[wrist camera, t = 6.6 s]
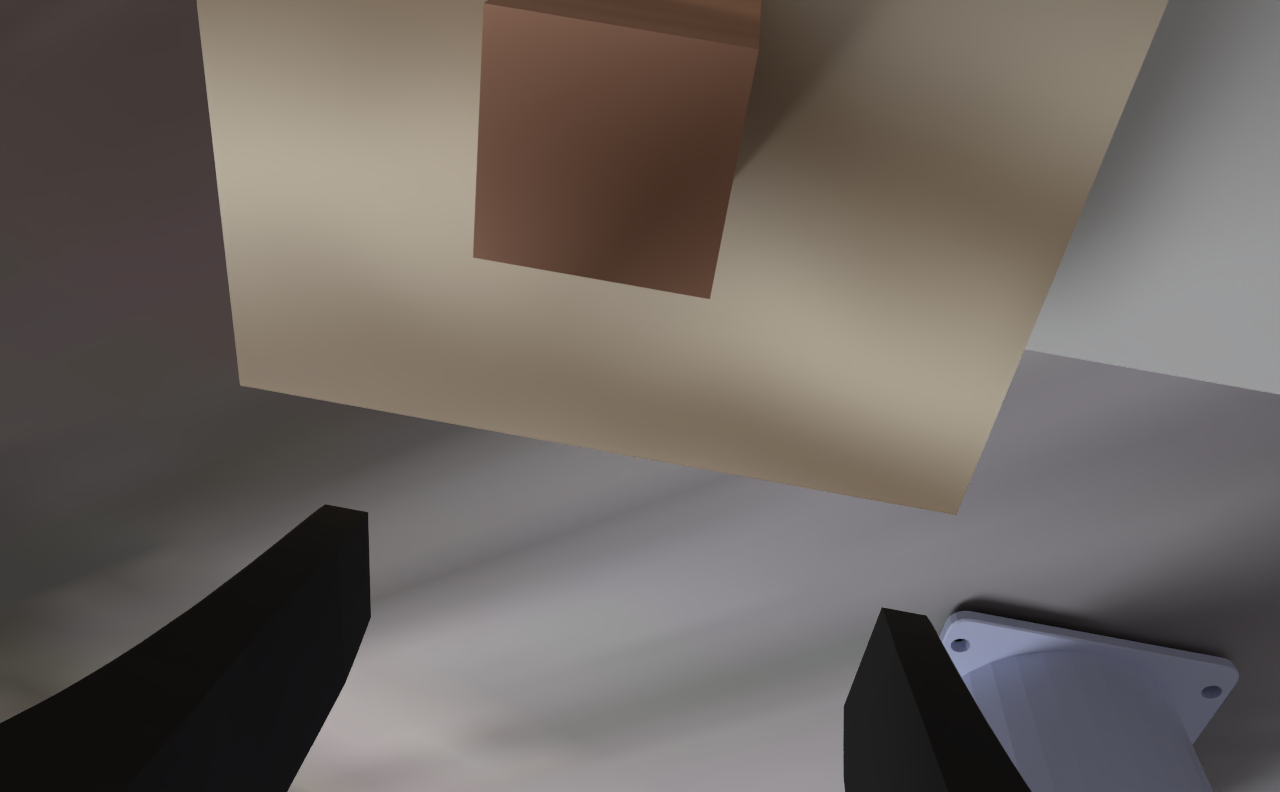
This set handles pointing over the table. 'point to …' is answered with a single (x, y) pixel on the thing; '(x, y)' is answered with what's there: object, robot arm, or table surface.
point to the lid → (665, 216)
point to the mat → (1184, 211)
